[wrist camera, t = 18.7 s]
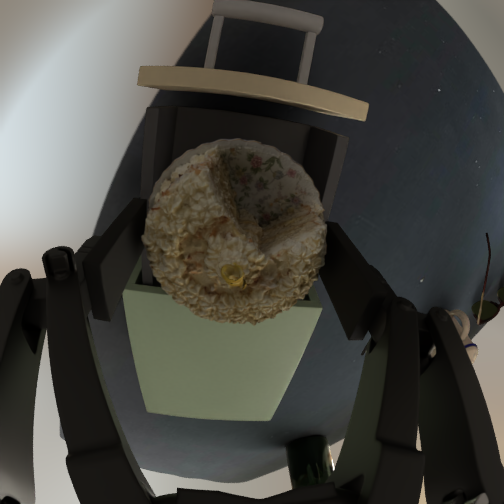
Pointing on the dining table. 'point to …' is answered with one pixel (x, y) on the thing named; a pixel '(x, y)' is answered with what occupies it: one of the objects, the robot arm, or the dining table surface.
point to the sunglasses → (484, 308)
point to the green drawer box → (213, 355)
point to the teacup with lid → (463, 334)
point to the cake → (235, 231)
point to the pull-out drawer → (242, 124)
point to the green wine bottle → (309, 461)
